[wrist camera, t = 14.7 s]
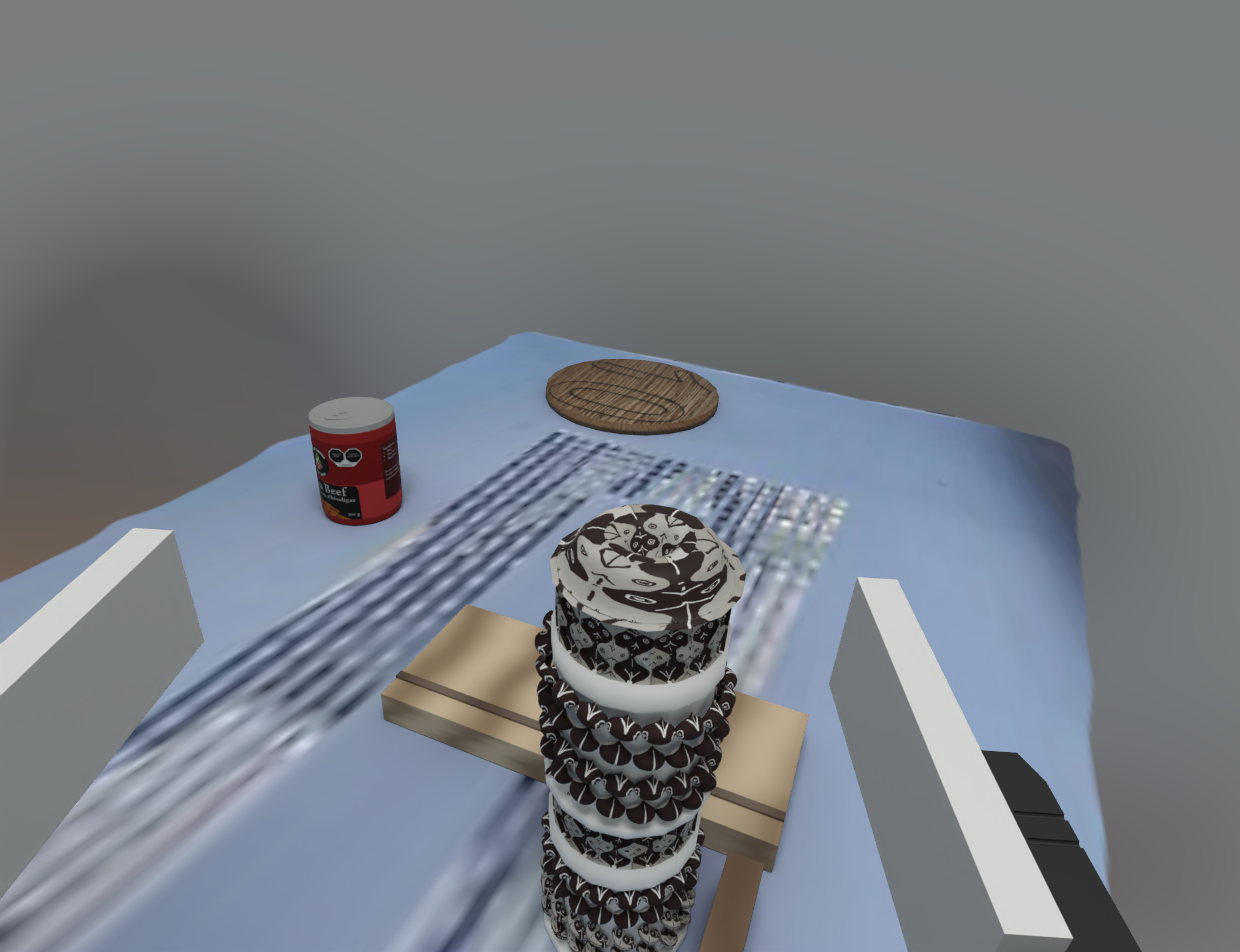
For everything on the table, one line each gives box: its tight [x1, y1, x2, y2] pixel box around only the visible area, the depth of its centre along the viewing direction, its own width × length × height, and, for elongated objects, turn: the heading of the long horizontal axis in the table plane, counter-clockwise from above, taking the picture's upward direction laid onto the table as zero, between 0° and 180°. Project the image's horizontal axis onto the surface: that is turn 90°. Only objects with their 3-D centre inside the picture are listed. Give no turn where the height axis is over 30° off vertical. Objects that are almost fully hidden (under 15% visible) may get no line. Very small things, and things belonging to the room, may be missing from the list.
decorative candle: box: [535, 504, 746, 952], centre depth 36 cm, size 9×9×25 cm
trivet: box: [546, 359, 719, 435], centre depth 107 cm, size 25×25×2 cm
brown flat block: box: [699, 850, 764, 952], centre depth 39 cm, size 2×6×4 cm, turn 158°
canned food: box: [308, 397, 402, 525], centre depth 74 cm, size 8×8×11 cm
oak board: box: [381, 604, 809, 873], centre depth 52 cm, size 28×11×3 cm, turn 68°
